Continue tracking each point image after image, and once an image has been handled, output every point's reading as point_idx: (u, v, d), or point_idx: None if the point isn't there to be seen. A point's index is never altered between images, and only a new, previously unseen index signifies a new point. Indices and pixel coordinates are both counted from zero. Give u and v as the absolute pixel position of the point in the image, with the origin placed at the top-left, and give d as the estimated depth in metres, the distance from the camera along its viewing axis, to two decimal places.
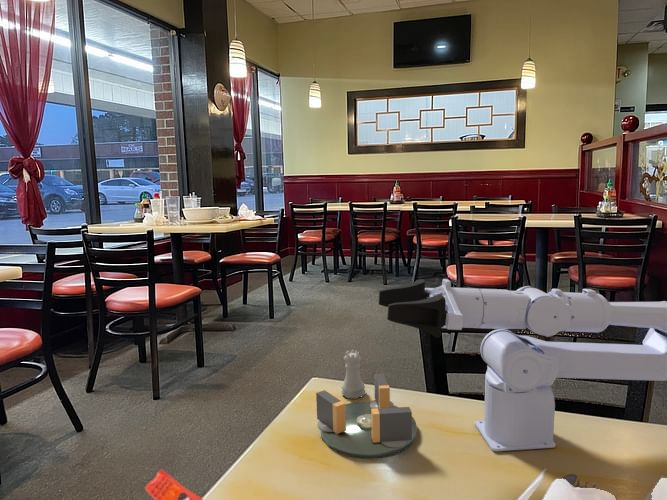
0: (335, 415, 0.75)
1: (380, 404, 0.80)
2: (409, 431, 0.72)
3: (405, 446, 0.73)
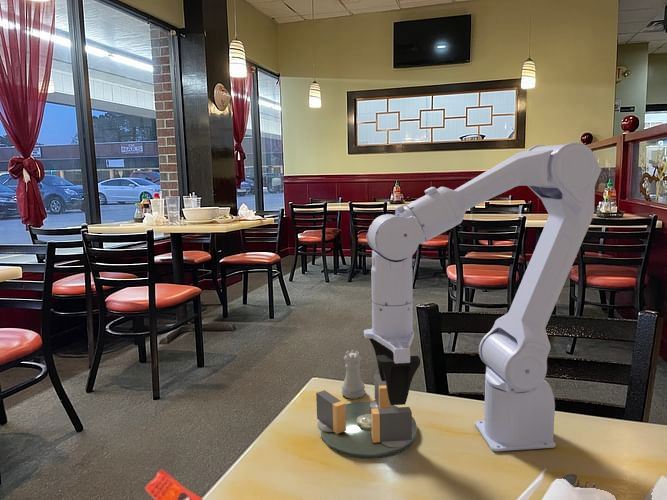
0: (335, 415, 0.75)
1: (380, 404, 0.80)
2: (409, 431, 0.72)
3: (405, 446, 0.73)
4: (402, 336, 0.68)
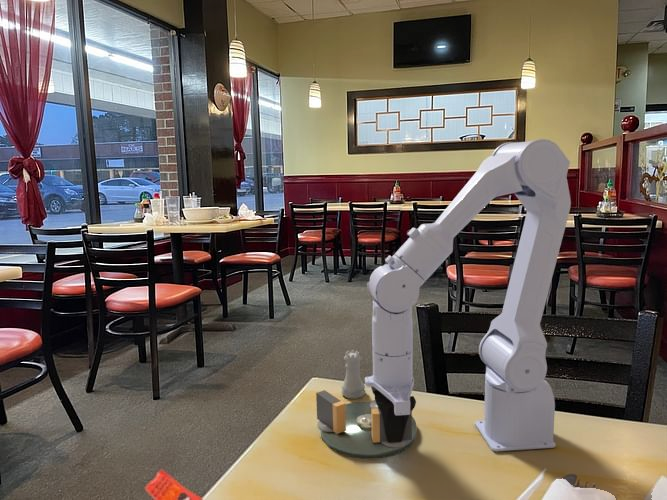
0: (335, 415, 0.75)
1: None
2: (409, 431, 0.72)
3: (405, 446, 0.73)
4: (402, 385, 0.69)
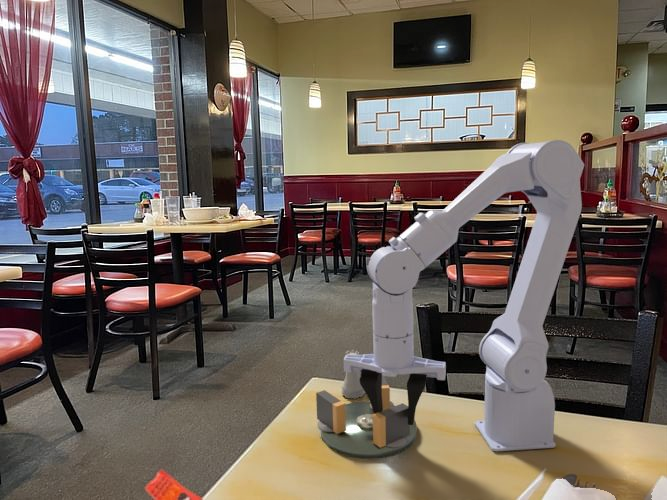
0: (335, 415, 0.75)
1: None
2: (408, 427, 0.74)
3: (405, 446, 0.73)
4: (413, 359, 0.72)
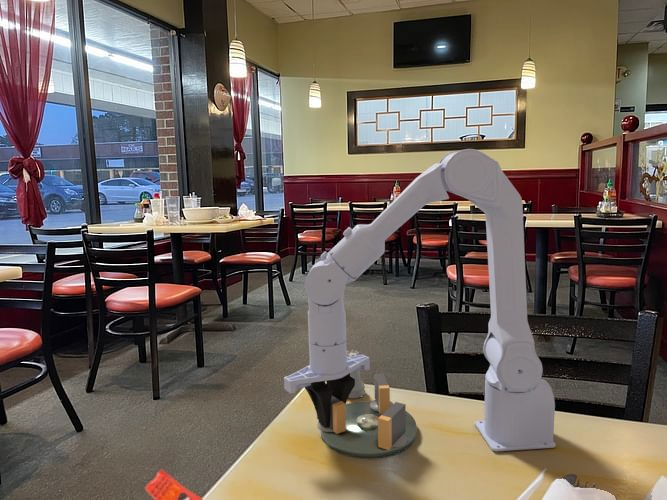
0: (335, 415, 0.75)
1: (380, 404, 0.80)
2: (404, 424, 0.75)
3: (405, 446, 0.73)
4: (316, 373, 0.74)
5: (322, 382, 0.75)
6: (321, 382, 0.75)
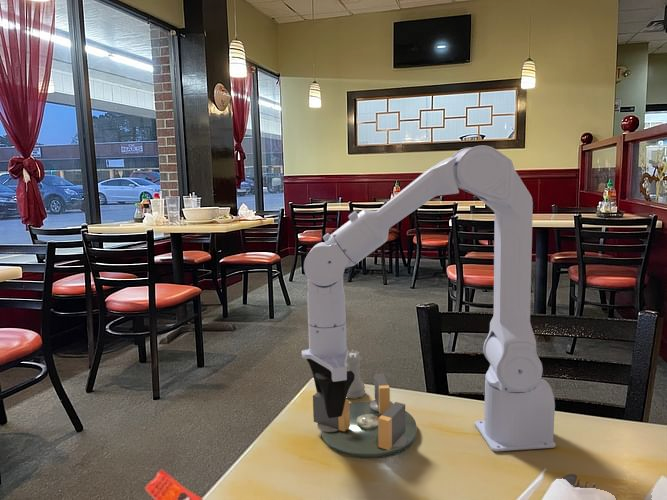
0: (342, 413, 0.75)
1: (380, 404, 0.80)
2: (404, 424, 0.75)
3: (405, 446, 0.73)
4: (338, 355, 0.73)
5: None
6: None
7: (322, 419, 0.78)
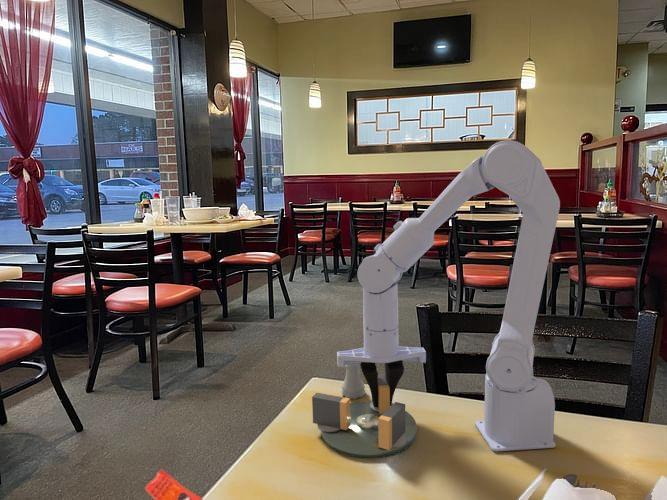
0: (344, 412, 0.76)
1: (380, 404, 0.80)
2: (404, 423, 0.75)
3: (405, 446, 0.73)
4: (365, 354, 0.81)
5: (371, 364, 0.81)
6: (370, 363, 0.81)
7: (322, 420, 0.77)
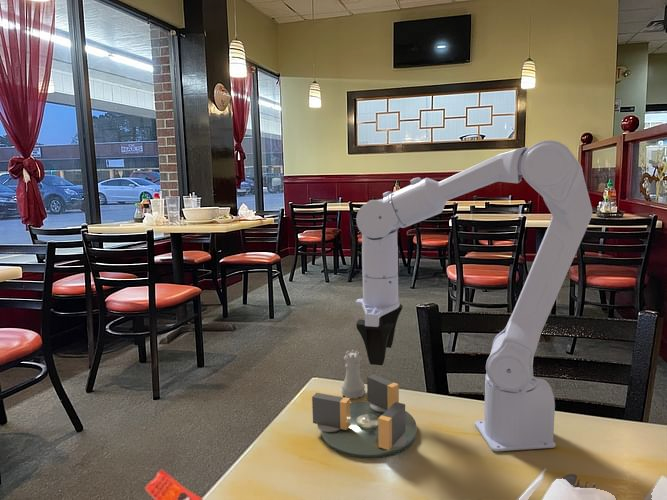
0: (344, 412, 0.76)
1: (392, 403, 0.81)
2: (404, 423, 0.75)
3: (405, 446, 0.73)
4: (382, 305, 0.78)
5: None
6: None
7: (322, 420, 0.77)
